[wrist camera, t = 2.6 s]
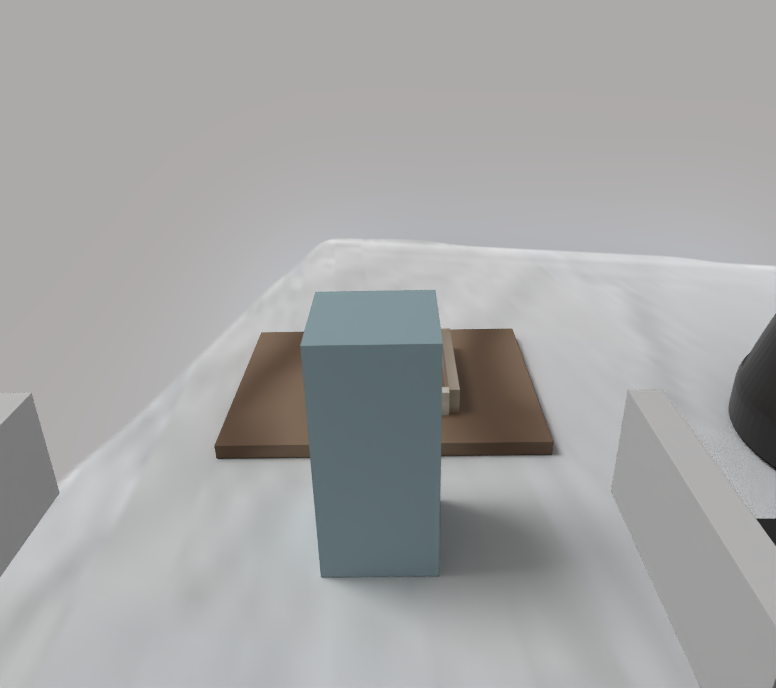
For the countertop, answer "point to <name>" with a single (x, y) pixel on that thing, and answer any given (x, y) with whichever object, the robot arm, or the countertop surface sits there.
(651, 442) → the robot arm
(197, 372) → the countertop surface
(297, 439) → the board
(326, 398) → the blue-grey tall block
